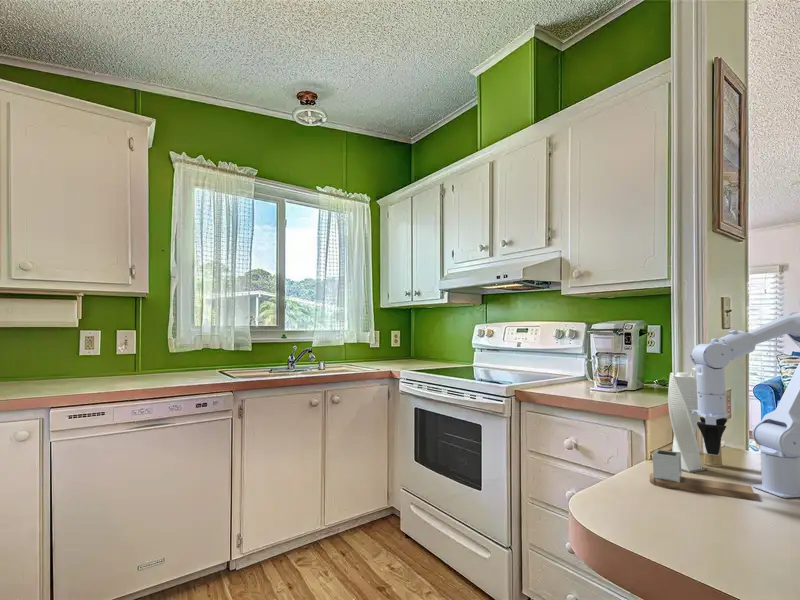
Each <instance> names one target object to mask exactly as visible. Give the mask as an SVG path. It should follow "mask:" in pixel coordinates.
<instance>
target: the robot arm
mask: <svg viewBox="0 0 800 600" xmlns="http://www.w3.org/2000/svg"><path fill="white" fill-rule="evenodd" d="M783 335H787V336H788V338H790V340H791V341H792V342H793V343H794V344H795V345H796V346H798V348H799V349H800V312H797V311H796V312H790V313H788V314H785V315H780V316H779V317H777V318H775V319H773V320H771V321H769V322H767V323H765V324H762V325H760V326H758V327H756V328H754V329H752V330H750V331H744V330H737V329H732V330H728V334H727V335H724V336H722V337H720V338H715V337H714V338H712V339H710V342H709V343H699V344H697V345H695V346H694V348H693V349H692V351H691V354H689V358H690V360H691V362H692V363H693V364H694V366H695V367H694V368H695V369H696V380H697V401H698V410H692V413H693V414H698V415H699V420H700V421H698V422H697V428H698V429H699V430H700V433H701V435H702V439H703V438H704V442H705V447H706V450H707V453H708V454H713V455H718V454H719V450H720V443H721V441H722V437H723V435H724V432H725V430H726V428H727V425H726V423H727V421H728V413H727V400H726V398H727V397H726V381H725V379H726V378H725V375H726V374H725V368H726V367H727V366H728V365H729V363H730V362H731V361H734V360H735V359H738V358H741V357H743V356H746V355H748V354H750V353H753V352H754V351H755V350H756V346H757V345H758V344H761V343H764V342H767V341H771V340H773V339H775V338H778V337H782V336H783ZM798 362H799V363H798V365H797V366H796V368H795V371H794V373H793V375H791V379H790V381H789V382H788V384H787V387H786V388H785V390H784V393H783V394H782V396H781V398H780V400H779V402H778V404H777V407H776V408H775V409H774V410H772V411H770V412H768V413H766V414H765V415H763V417H762V419H761V420H760V421H759V422H758V423H756V424H755V425H754V427H753V429H752V432H751V434H752V435H751V436H752V440H753V441H754V442H755V444H757V445H758V450H760V468H761V469H760V470H761V483H759V484H753V485H752V487H753V488H755V489H758V490H761V491H763V492H766V493H769V494H771V495H775V496H777V497H780V498H783V499H787V498H789V499H790V498H800V361H798ZM721 444H722V443H721Z"/></svg>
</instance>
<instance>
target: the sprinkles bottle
mask: <svg viewBox="0 0 800 600" xmlns="http://www.w3.org/2000/svg"><path fill="white" fill-rule="evenodd" d="M702 450H703V464H704V465H706V466H709V467H713V468H721V467H723V457H722V454H723V451H722V450H723V449H722V443H720V450H719V454H718V455H713V454H708V453H707V450H706V447H705V442H704V438H703V437H702Z"/></svg>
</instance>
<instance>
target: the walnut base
mask: <svg viewBox="0 0 800 600" xmlns="http://www.w3.org/2000/svg"><path fill="white" fill-rule="evenodd" d="M649 482H650V484H652V485H653V486H656V487H659V488H664V489H671V490H684V491H692V492H697V493H703V494H704V493H705V494H710V495H717V496H722V497H723V496H724V497H731V498H736V499H743V500H750V501H756V498H755V492H754V489H753V488H752V487H753V486H752V485H744V484H739V483H733V482H724V481H718V480H712V479H711V480H710V479H703V478H696V477H689V476H683V475H682V477H681V480H680V483H679V482H673V481H667V480H661V479H654V477H653V472H652V473H650V474H649Z"/></svg>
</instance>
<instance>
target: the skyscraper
mask: <svg viewBox="0 0 800 600" xmlns="http://www.w3.org/2000/svg"><path fill="white" fill-rule="evenodd" d="M668 380H669V381H668V388H667V389H668V390H667V391H668V394H667V399H668V400H667V403H668V405H667V406H668V413H669V414H668V415H669V419H670V424H671V428H672V431H673V432H672V433H673V439H672V440H673V441H672V447H671V448H672V450H671V451H673V452H681V470H682V472H685V473H688V474H691V473H696V472H701V471H702V472H703V471H707V467H703V466H702V461H701V455H700V450H699V446H698V445H699V444H698V441H697V440H698V439H697V437H696V433H697V428H698V426H697V422H699V420H700V415H698V414H693V413H692V410H698V401H697V378H696V368H695V367H692V368H691V370H690V373H689V372H679V371H678V372H676V374H674V373H673V372H670V373H669V379H668Z"/></svg>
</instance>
